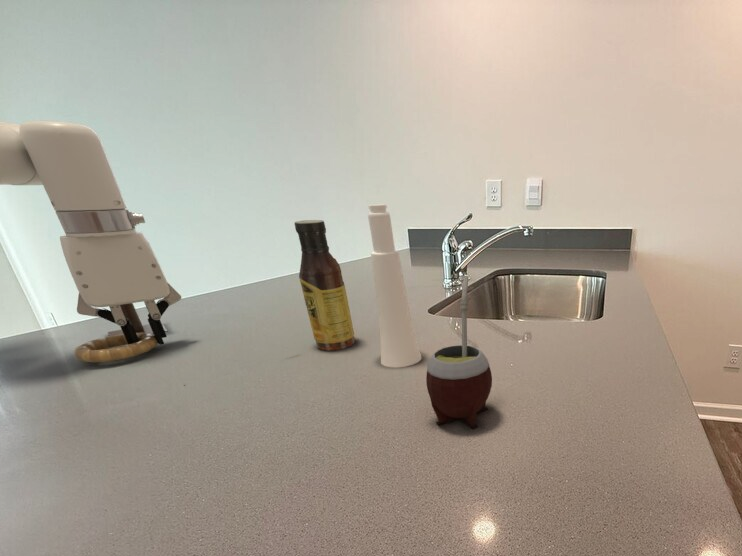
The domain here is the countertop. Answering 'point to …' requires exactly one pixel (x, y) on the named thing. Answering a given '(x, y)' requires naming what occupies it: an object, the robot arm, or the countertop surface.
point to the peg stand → (133, 321)
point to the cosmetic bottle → (391, 294)
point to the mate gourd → (459, 378)
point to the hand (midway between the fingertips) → (149, 343)
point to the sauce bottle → (323, 289)
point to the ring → (101, 353)
